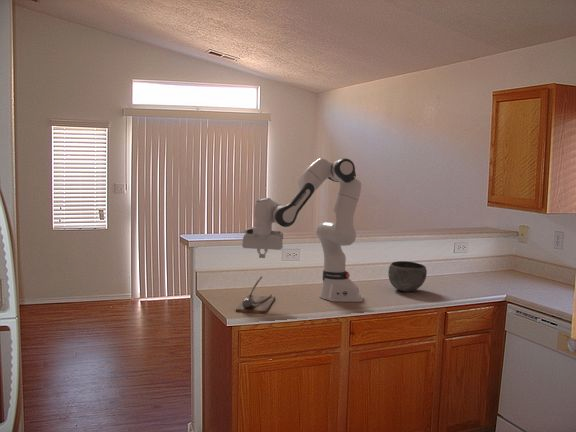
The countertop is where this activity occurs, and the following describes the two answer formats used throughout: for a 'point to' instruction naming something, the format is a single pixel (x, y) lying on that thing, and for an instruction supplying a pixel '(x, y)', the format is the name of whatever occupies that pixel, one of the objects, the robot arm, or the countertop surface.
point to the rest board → (257, 305)
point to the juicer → (249, 300)
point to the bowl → (407, 275)
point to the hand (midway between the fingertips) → (262, 257)
